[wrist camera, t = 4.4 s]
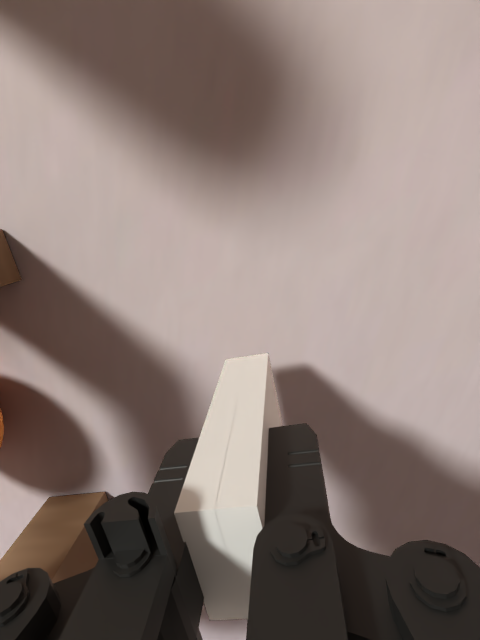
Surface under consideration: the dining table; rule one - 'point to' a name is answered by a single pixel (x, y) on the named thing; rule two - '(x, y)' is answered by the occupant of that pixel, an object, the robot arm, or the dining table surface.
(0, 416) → the ball
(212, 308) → the dining table surface
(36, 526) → the bridge
